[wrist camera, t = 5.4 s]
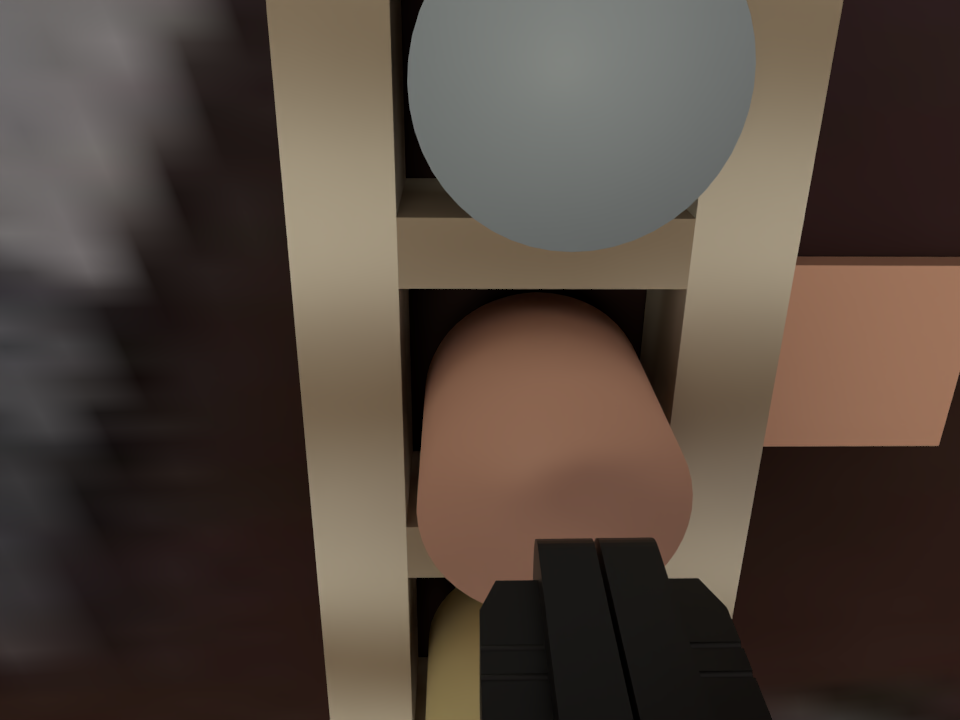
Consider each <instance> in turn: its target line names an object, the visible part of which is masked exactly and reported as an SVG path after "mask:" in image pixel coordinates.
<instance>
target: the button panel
mask: <svg viewBox="0 0 960 720" xmlns="http://www.w3.org/2000/svg"><path fill="white" fill-rule="evenodd" d="M746 1H747V4H748V7H749V10H750V14H751V19H752V24H753V30H754V36H755V51H756V68H755V81H754V89H753V94H752V99H751V104H750V108H749V112H748V115H747V118H746V121H745V124H744V127H743V130H742V133H741V135H740V137H739V139H738V141H737V143H736V145H735V147H734V150H733V152H732V154H731V155H730V157H729V158H728V160H727V162H726V163H725V165H724V166H723V168H722V170H721V171H720V173H719V174H718V175H717V177H716V178H715V179H714V180H713V182H712V183H711V184H710V185H709V187H708V188H707V189H706V190H705V191H704V192H703V193H702V194H701V195H700V196H699V197H698V198H697V199H696V200H695V201H694V202H693V203H692V204H691V205H690V206H689V207H688V208H687V209H686V210H684V211H683V212H682V213H680V214H679V215H678V216H677V217H675V218H674V219H673V220H671V221H670V222H668V223H666V224H665V225H663V226H661V227H660V228H658V229H657V230H655V231H653V232H651V233H649V234H647V235H644V236H642V237H640V238H638V239H636V240H634V241H630V242H627V243H624V244H621V245H618V246H615V247H610V248H605V249H599V250H594V251H581V252H564V251H550V250H545V249H540V248H535V247H530V246H527V245H524V244H521V243H518V242H515V241H512V240H510V239H508V238H506V237H504V236H501V235H499V234H497V233H495V232H493V231H491V230H490V229H488V228H487V227H485V226H484V225H482V224H481V223H479V222H478V221H476V220H475V219H474V218H472V217H471V216H470V215H469V214H468V213H467V212H466V211H464V210H463V209H462V208H461V207H460V206H459V205H458V204H457V203H456V202H455V201H454V200H453V199H452V198H451V196H450V195H449V194H448V193H447V192H446V191H445V190H444V188H443V187H442V185H441V184H440V182H439V181H438V179H437V178H406V168H405V130H404V92H403V54H402V16H401V0H266V7H267V19H268V30H269V41H270V52H271V63H272V75H273V86H274V97H275V108H276V119H277V130H278V142H279V153H280V164H281V175H282V186H283V198H284V209H285V220H286V231H287V242H288V254H289V265H290V276H291V287H292V298H293V310H294V321H295V332H296V343H297V354H298V365H299V377H300V388H301V399H302V410H303V421H304V433H305V444H306V455H307V466H308V477H309V489H310V500H311V511H312V522H313V533H314V544H315V556H316V567H317V578H318V589H319V600H320V612H321V623H322V634H323V645H324V656H325V668H326V679H327V690H328V701H329V712H330V720H426V695H427V671H428V657H418V624H417V586H416V578H437V577H444V575H443V574H442V573H441V572H440V571H439V570H438V568H437V567H436V566H435V564H434V563H433V561H432V560H431V558H430V556H429V555H428V553H427V551H426V548H425V546H424V544H423V542H422V539H421V535H420V531H419V528H418V520H417V494H418V480H419V466H420V453H421V451H413V434H412V396H411V358H410V320H409V289H647V294H646V304H645V313H644V323H643V333H642V343H641V353H640V363H641V365H642V367H643V369H644V371H645V374H646V376H647V378H648V380H649V382H650V384H651V386H652V389H653V391H654V393H655V395H656V397H657V399H658V401H659V404H660V406H661V408H662V410H663V412H664V414H665V416H666V419H667V421H668V423H669V425H670V427H671V429H672V431H673V434H674V436H675V438H676V440H677V442H678V444H679V446H680V449H681V451H682V453H683V455H684V458H685V460H686V462H687V464H688V468H689V472H690V476H691V480H692V491H693V500H692V511H691V516H690V520H689V525H688V527H687V530H686V532H685V535H684V538H683V540H682V542H681V543H680V545H679V547H678V549H677V551H676V552H675V554H674V555H673V556H672V558H671V559H670V560H669V562H668V563H667V564H666V566H665V569H666V572H667V575H668V578H699V579H700V580H701V581H702V582H703V583H704V584H705V585H706V586H707V587H708V589H709V590H710V591H711V592H712V593H713V594H714V595H715V596H716V597H717V598H718V599H719V600H720V601H721V602H722V603H723V604H724V605H725V606H726V607H727V609H728V611H729V614H730V616H731V619H732V616H733V610H734V605H735V599H736V594H737V588H738V583H739V577H740V572H741V566H742V560H743V555H744V549H745V544H746V538H747V533H748V527H749V522H750V516H751V510H752V505H753V499H754V494H755V488H756V483H757V477H758V472H759V466H760V460H761V455H762V449H763V444H764V438H765V433H766V427H767V422H768V416H769V410H770V405H771V399H772V394H773V388H774V383H775V377H776V372H777V366H778V360H779V355H780V349H781V344H782V338H783V333H784V327H785V321H786V316H787V310H788V305H789V299H790V294H791V288H792V283H793V277H794V271H795V266H796V260H797V255H798V249H799V244H800V238H801V233H802V227H803V221H804V216H805V210H806V205H807V199H808V194H809V188H810V183H811V177H812V171H813V166H814V160H815V155H816V149H817V144H818V138H819V133H820V127H821V121H822V116H823V110H824V105H825V99H826V94H827V88H828V83H829V77H830V71H831V66H832V60H833V55H834V49H835V44H836V38H837V33H838V27H839V21H840V16H841V10H842V5H843V0H746Z"/></svg>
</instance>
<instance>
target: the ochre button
mask: <svg viewBox="0 0 960 720" xmlns="http://www.w3.org/2000/svg"><path fill="white" fill-rule="evenodd" d="M482 605H483V603H481V602H479V601H477V600H475V599H473V598H471V597H469V596H468V595H466V594H465V593H463V592H462V591H461V590H459V589H458V588H455V589H454V590H453V591H451V592H450V593H449V594H448V595H447V596H446V598H445V599H444V600H443V601H442V602H441V604H440V605H439V607H438V609H437V610H436V612H435V614H434V617H433V619H432V622H431V626H430V630H429V646H428V671H427V695H426V720H480V625H479V610H480V608H481V607H482Z"/></svg>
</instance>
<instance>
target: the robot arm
mask: <svg viewBox="0 0 960 720" xmlns="http://www.w3.org/2000/svg"><path fill="white" fill-rule="evenodd" d="M479 625H480V720H772V718H771V715H770V713H769V711H768V708H767V706H766V703H765V701H764V698H763V696H762V693H761V691H760V688H759V686H758V683H757V681H756V678H753V676H752V668H751V666H750V663H749V661H748V658H747V656H746V654H745V651H744V649H743V648H741V641H740V639H739V636H738V634H737V631H736V629H735V626H734V624H733V621H732V619H731V616H730V614H729V611H728V609H727V607H726V606H725V605H724V604H723V603H722V602H721V601H720V600H719V599H718V598H717V597H716V596H715V595H714V594H713V593H712V592H711V591H710V590H709V589H708V587H707V586H706V585H705V584H704V583H703V582H702V581H701V580H700V579H699V578H668V575H667V572H666V569H665V566H664V563H663V560H662V557H661V554H660V551H659V548H658V545H657V542H656V541H655V539H654V538H652V537H641V538H596V539H595V541H593V539H592V538H565V539H535V543H534V560H533V580H503V581H495V583H494V585H493V586H492V588H491V590H490V592H489V594H488V596H487V597H486V599H485V601H484V603H483V605H482V607H481V608H480V610H479Z"/></svg>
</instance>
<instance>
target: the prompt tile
mask: <svg viewBox="0 0 960 720" xmlns="http://www.w3.org/2000/svg"><path fill="white" fill-rule="evenodd" d="M959 372H960V257H803V256H797V260H796V266H795V271H794V277H793V283H792V288H791V294H790V299H789V305H788V310H787V316H786V321H785V327H784V333H783V338H782V344H781V349H780V355H779V360H778V366H777V372H776V377H775V383H774V388H773V394H772V399H771V405H770V410H769V416H768V422H767V427H766V433H765V438H764V444H763V447H767V446H939V443H940V439H941V436H942V432H943V429H944V425H945V422H946V418H947V415H948V411H949V408H950V404H951V401H952V397H953V394H954V390H955V387H956V383H957V379H958V376H959Z"/></svg>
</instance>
